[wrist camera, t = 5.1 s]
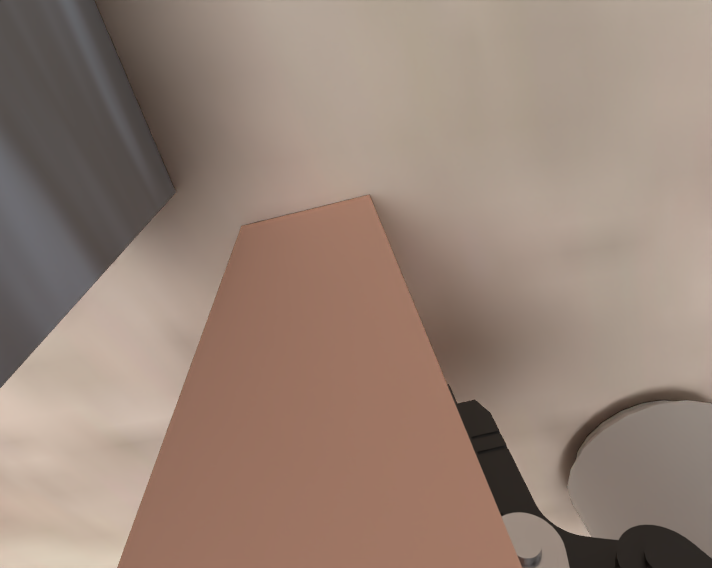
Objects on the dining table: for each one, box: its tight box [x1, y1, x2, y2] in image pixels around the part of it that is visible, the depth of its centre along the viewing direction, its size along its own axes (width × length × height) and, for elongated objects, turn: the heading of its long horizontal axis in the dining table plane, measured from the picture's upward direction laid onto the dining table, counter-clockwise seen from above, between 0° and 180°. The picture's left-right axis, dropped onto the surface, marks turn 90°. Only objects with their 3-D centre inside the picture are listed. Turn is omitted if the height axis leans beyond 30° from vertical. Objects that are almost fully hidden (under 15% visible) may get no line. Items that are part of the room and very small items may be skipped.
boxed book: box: [117, 195, 522, 568], centre depth 10 cm, size 4×9×14 cm, turn 12°
